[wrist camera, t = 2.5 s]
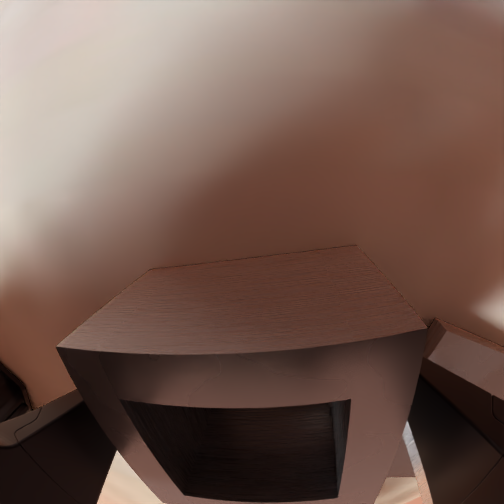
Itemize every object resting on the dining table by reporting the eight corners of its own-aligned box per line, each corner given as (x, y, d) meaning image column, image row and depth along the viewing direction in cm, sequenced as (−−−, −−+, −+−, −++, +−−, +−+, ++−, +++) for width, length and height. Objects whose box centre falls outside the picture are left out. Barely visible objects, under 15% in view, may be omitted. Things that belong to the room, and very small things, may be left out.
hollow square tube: (197, 411, 11) (162, 502, 6) (150, 269, 9) (55, 346, 5) (354, 403, 10) (373, 504, 5) (356, 245, 8) (427, 327, 4)
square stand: (321, 457, 11) (324, 538, 6) (435, 317, 9) (504, 405, 4) (434, 464, 11) (452, 520, 6) (528, 358, 9) (572, 409, 4)
